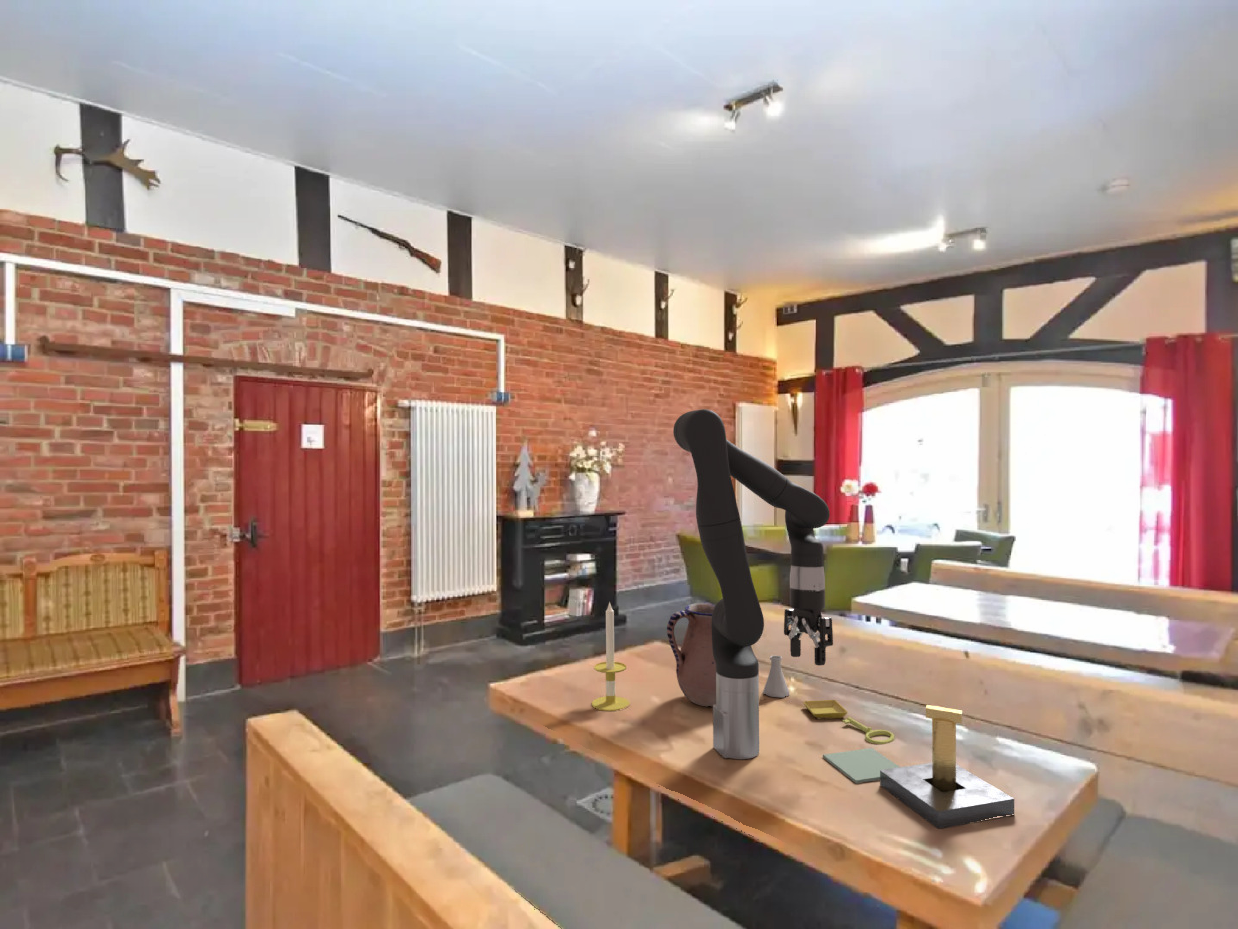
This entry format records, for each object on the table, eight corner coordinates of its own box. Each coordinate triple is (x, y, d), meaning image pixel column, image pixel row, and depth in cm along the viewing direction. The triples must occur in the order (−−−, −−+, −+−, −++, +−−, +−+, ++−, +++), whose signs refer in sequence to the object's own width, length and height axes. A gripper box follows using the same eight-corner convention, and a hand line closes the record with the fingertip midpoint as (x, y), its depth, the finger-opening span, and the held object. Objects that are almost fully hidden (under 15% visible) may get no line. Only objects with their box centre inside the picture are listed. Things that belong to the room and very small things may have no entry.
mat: (856, 783, 133) (856, 780, 133) (822, 757, 145) (822, 754, 145) (908, 775, 136) (908, 772, 136) (871, 750, 148) (871, 748, 148)
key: (847, 724, 164) (847, 715, 163) (898, 739, 155) (898, 730, 155) (832, 733, 158) (832, 724, 158) (884, 749, 150) (884, 739, 150)
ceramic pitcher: (758, 704, 176) (757, 608, 176) (696, 722, 164) (695, 619, 164) (712, 685, 191) (711, 597, 190) (652, 701, 179) (651, 607, 179)
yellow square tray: (813, 722, 165) (813, 713, 165) (802, 708, 174) (802, 700, 174) (848, 720, 166) (848, 712, 166) (835, 707, 174) (835, 699, 174)
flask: (784, 700, 179) (784, 662, 179) (758, 695, 183) (758, 658, 183) (793, 692, 185) (793, 655, 185) (767, 687, 189) (767, 651, 189)
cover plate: (938, 829, 117) (938, 811, 117) (880, 785, 132) (880, 770, 132) (1014, 815, 121) (1014, 798, 121) (949, 775, 136) (949, 760, 136)
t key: (925, 800, 126) (925, 709, 126) (927, 791, 130) (927, 703, 130) (961, 809, 123) (961, 715, 123) (962, 799, 127) (962, 708, 127)
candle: (626, 712, 172) (625, 606, 171) (587, 710, 173) (586, 605, 173) (632, 698, 181) (631, 597, 181) (596, 696, 183) (594, 596, 183)
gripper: (774, 583, 156) (774, 655, 155) (813, 590, 143) (813, 669, 142) (801, 582, 159) (801, 653, 158) (842, 589, 146) (843, 666, 144)
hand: (807, 660), depth 150 cm, fingers open, 8 cm apart
